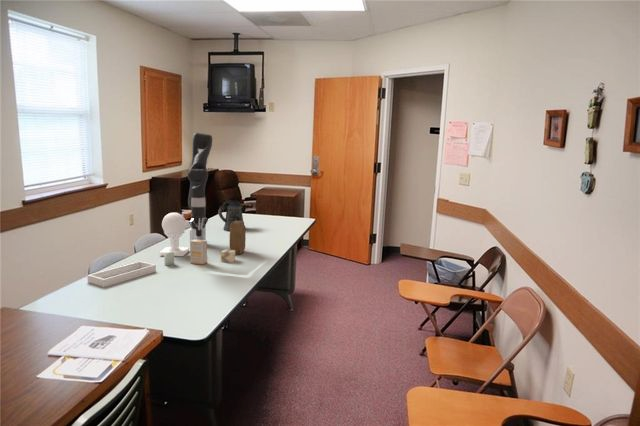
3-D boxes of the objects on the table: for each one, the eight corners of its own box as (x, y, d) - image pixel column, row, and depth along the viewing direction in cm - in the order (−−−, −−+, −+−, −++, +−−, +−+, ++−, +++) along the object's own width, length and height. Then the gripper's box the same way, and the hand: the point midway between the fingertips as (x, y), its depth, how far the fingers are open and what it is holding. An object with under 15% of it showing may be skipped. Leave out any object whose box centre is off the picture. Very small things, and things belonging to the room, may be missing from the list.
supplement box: (207, 263, 232) (207, 240, 230) (202, 265, 228) (202, 242, 226) (195, 261, 235) (194, 238, 233) (190, 263, 231) (189, 240, 228)
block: (239, 255, 250) (239, 223, 247) (228, 254, 252) (228, 222, 249) (247, 251, 260) (247, 220, 257) (236, 250, 262) (236, 219, 259)
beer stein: (249, 231, 317) (250, 199, 313) (231, 236, 301) (231, 202, 297) (234, 228, 326) (234, 197, 322) (215, 232, 310) (215, 199, 306)
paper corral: (87, 282, 195) (87, 275, 194) (140, 267, 220) (140, 261, 219) (103, 287, 189) (103, 279, 188) (155, 271, 214) (155, 264, 214)
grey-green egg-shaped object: (162, 264, 226) (162, 252, 225) (169, 262, 230) (169, 250, 229) (169, 266, 224) (168, 253, 223) (176, 264, 228) (176, 251, 227)
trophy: (166, 250, 256) (165, 210, 252) (189, 250, 257) (188, 211, 253) (159, 256, 242) (158, 214, 238) (183, 256, 243) (182, 214, 239)
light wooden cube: (221, 261, 236) (221, 251, 235) (225, 259, 242) (225, 249, 241) (230, 262, 235) (230, 252, 234) (235, 260, 240) (235, 250, 239)
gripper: (202, 203, 234) (202, 233, 236) (184, 206, 222) (184, 237, 225) (212, 204, 230) (212, 235, 233) (194, 207, 219) (195, 239, 221)
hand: (198, 236), depth 229 cm, fingers closed
